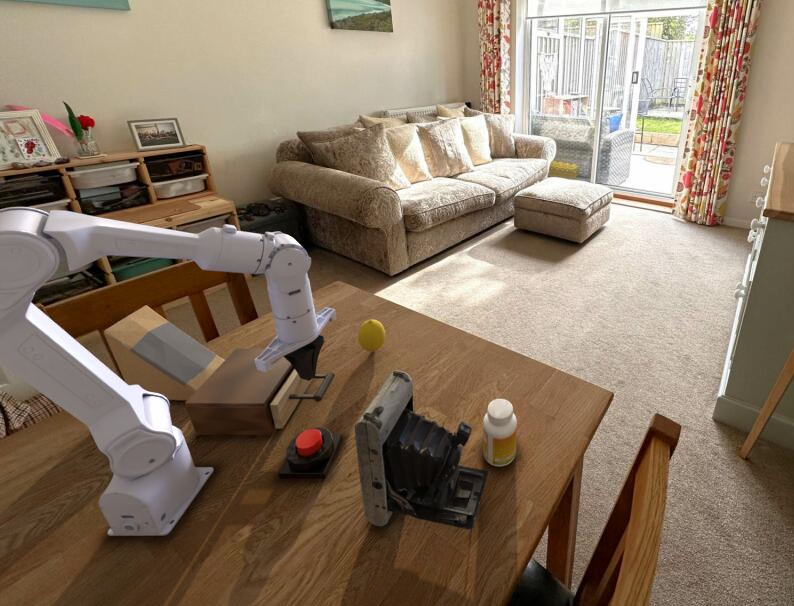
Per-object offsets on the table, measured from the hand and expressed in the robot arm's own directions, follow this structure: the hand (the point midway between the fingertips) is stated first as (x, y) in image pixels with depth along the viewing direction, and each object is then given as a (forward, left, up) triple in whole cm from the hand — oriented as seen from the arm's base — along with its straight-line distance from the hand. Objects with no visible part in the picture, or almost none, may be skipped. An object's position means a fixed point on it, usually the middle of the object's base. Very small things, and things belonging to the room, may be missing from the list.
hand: (307, 376), depth 68 cm
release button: (-8, -3, -7) cm, 11 cm away
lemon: (+18, -5, -10) cm, 21 cm away
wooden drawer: (+3, +7, -9) cm, 12 cm away
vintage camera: (-15, -23, -10) cm, 29 cm away
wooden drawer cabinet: (+3, +12, -9) cm, 16 cm away
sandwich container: (+8, +28, -10) cm, 31 cm away
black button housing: (-8, -3, -9) cm, 13 cm away
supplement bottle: (-7, -33, -10) cm, 35 cm away
